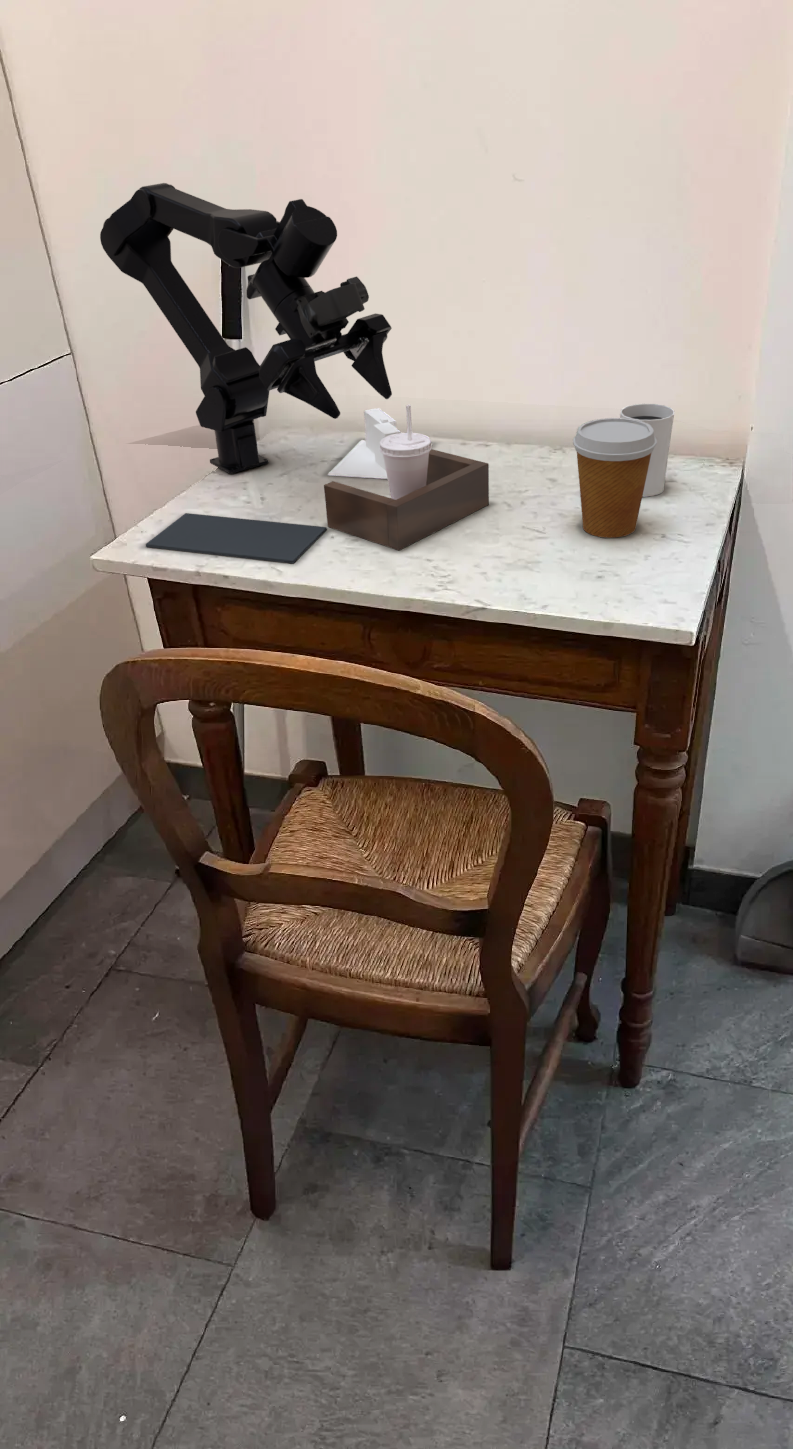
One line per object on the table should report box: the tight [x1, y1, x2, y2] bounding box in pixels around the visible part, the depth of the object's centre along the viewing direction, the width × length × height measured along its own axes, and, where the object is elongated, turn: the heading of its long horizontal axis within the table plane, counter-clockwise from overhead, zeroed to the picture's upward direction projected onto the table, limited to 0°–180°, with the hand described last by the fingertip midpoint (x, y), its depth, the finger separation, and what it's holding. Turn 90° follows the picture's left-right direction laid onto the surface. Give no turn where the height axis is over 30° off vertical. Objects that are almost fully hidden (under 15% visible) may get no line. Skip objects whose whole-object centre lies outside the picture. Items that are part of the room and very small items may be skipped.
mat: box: [145, 512, 328, 564], centre depth 131 cm, size 20×10×1 cm, turn 70°
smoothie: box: [380, 404, 433, 500], centre depth 131 cm, size 6×6×14 cm
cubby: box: [323, 448, 490, 551], centre depth 133 cm, size 12×17×6 cm
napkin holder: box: [326, 407, 433, 480], centre depth 151 cm, size 15×11×6 cm
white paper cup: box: [619, 403, 675, 498], centre depth 135 cm, size 7×7×10 cm
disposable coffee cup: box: [572, 417, 657, 539], centre depth 125 cm, size 10×10×12 cm
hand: (364, 406), depth 131 cm, fingers open, 9 cm apart
